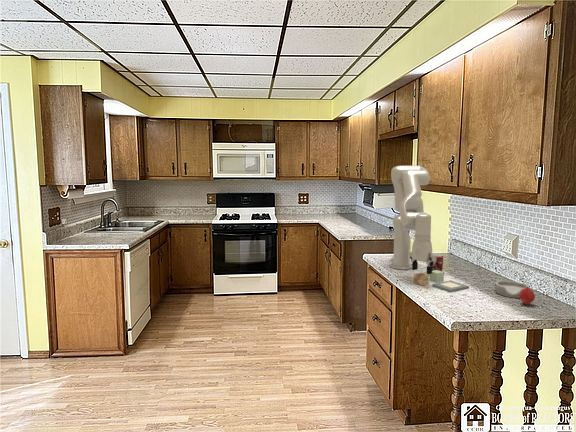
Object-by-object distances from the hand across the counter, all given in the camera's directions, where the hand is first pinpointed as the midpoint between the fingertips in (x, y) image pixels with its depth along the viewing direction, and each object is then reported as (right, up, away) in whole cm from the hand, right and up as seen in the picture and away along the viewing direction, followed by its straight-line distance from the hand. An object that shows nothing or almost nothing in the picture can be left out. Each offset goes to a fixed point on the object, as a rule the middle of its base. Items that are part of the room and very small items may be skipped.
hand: (421, 271), depth 201 cm
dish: (+37, -9, -15) cm, 41 cm away
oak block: (0, -6, +2) cm, 7 cm away
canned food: (+14, -4, +20) cm, 25 cm away
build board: (+12, -7, -5) cm, 15 cm away
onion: (+35, -10, -29) cm, 47 cm away
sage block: (+10, -6, +7) cm, 13 cm away
